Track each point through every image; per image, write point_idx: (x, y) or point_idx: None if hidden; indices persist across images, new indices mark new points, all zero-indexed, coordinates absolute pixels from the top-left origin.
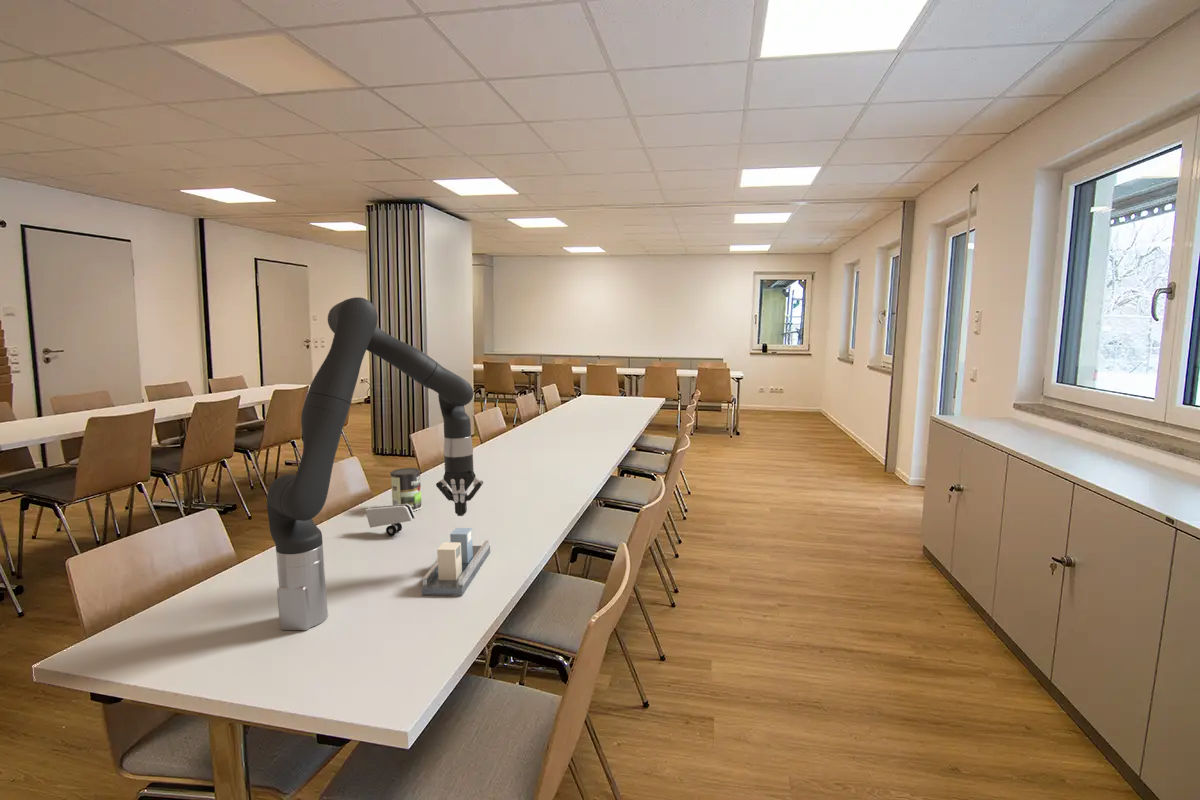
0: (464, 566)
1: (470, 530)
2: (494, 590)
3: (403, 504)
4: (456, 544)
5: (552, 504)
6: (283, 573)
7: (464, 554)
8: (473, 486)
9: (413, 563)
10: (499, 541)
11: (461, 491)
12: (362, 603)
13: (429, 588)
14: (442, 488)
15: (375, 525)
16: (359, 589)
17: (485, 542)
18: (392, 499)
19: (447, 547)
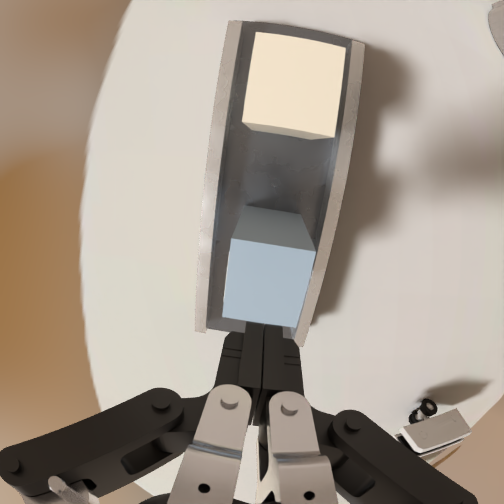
0: (251, 176)
1: (224, 295)
2: (152, 62)
3: (419, 456)
4: (260, 95)
5: None
6: None
7: (252, 213)
8: (87, 491)
9: (404, 268)
10: (195, 371)
11: (214, 479)
12: (465, 59)
13: (334, 36)
14: (427, 493)
15: (451, 412)
16: (489, 135)
17: (201, 318)
18: None
19: (300, 62)
